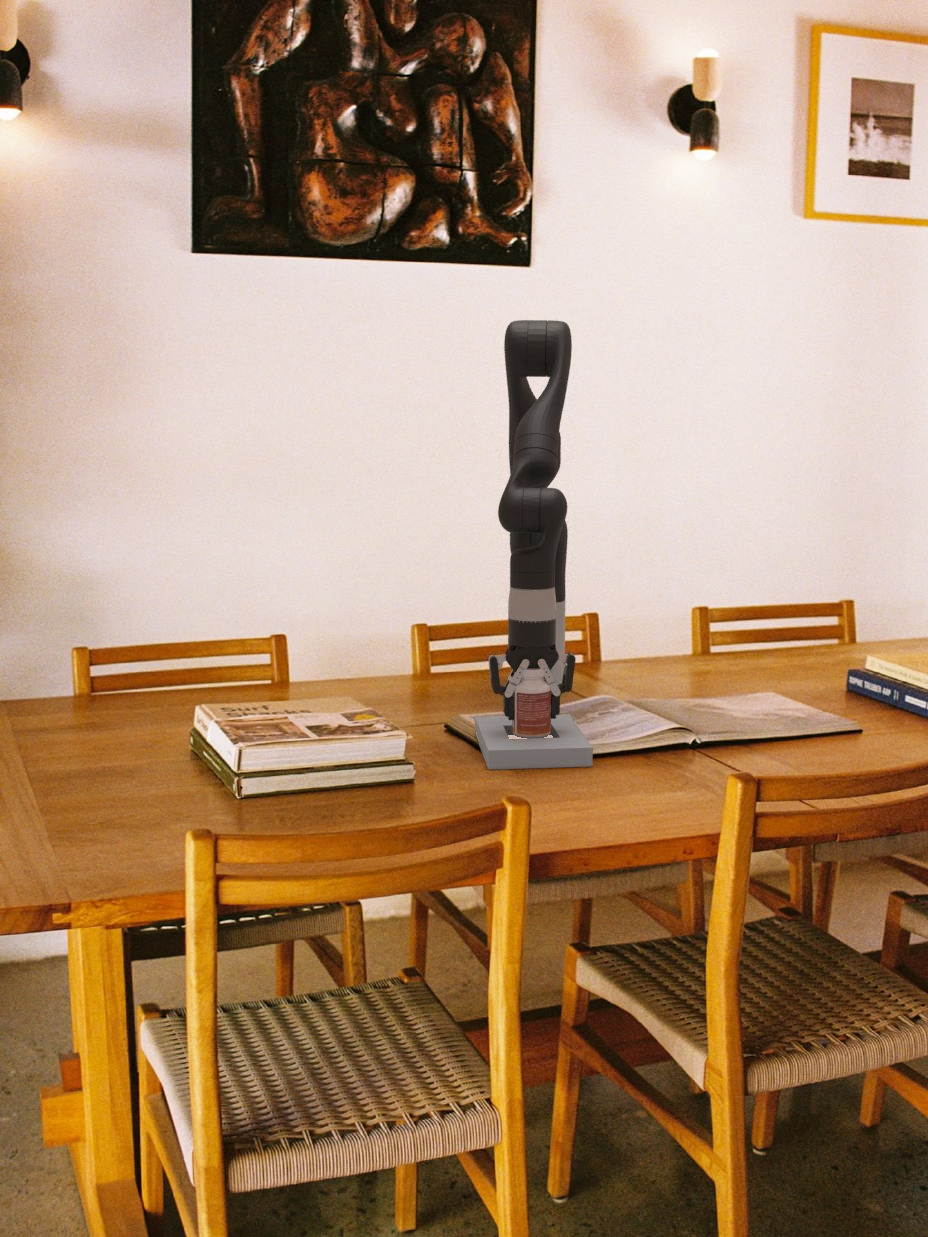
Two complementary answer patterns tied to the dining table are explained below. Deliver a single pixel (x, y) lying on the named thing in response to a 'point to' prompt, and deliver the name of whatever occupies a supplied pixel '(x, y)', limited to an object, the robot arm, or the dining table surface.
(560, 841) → the dining table surface
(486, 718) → the socket board
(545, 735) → the pill bottle
